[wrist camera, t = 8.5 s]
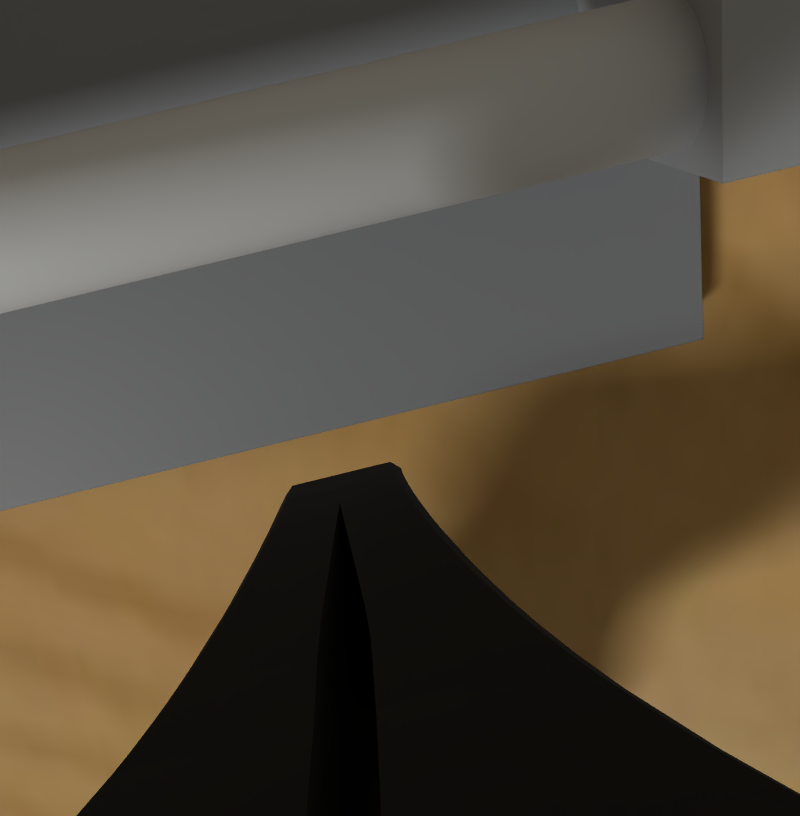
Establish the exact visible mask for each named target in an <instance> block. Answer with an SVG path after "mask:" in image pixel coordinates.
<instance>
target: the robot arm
mask: <svg viewBox="0 0 800 816" xmlns="http://www.w3.org/2000/svg"><path fill="white" fill-rule="evenodd" d="M77 816H800V794H799V793H797V792H795V791H794V790H792V789H790V788H788V787H787V786H785V785H783V784H781V783H779V782H778V781H776V780H774V779H772V778H771V777H769V776H767V775H765V774H763V773H762V772H760V771H758V770H756V769H755V768H753V767H751V766H749V765H747V764H746V763H744V762H742V761H740V760H739V759H737V758H735V757H733V756H731V755H730V754H728V753H726V752H724V751H723V750H721V749H719V748H718V747H716V746H715V745H713V744H711V743H710V742H708V741H707V740H705V739H704V738H702V737H700V736H699V735H697V734H696V733H694V732H692V731H691V730H689V729H688V728H686V727H685V726H683V725H681V724H680V723H678V722H677V721H675V720H673V719H672V718H670V717H669V716H667V715H666V714H664V713H662V712H661V711H659V710H658V709H656V708H655V707H653V706H651V705H650V704H648V703H647V702H645V701H643V700H642V699H640V698H639V697H637V696H636V695H634V694H632V693H631V692H629V691H628V690H626V689H625V688H623V687H622V686H620V685H619V684H617V683H616V682H615V681H613V680H612V679H610V678H609V677H608V676H606V675H605V674H603V673H602V672H601V671H599V670H598V669H597V668H595V667H594V666H592V665H591V664H590V663H588V662H587V661H586V660H584V659H583V658H581V657H580V656H579V655H577V654H576V653H575V652H573V651H572V650H571V649H569V648H568V647H567V646H566V645H564V644H563V643H562V642H561V641H559V640H558V639H557V638H555V637H554V636H553V635H552V634H550V633H549V632H548V631H547V630H545V629H544V628H543V627H542V626H540V625H539V624H538V623H537V622H536V621H534V620H533V619H532V618H531V617H530V616H529V615H527V614H526V613H525V612H524V611H523V610H522V609H520V608H519V607H518V606H517V605H516V604H515V603H514V602H513V601H511V600H510V599H509V598H508V597H507V596H506V595H505V594H504V593H503V592H502V591H501V590H500V589H499V588H498V587H496V586H495V585H494V584H493V583H492V582H491V581H490V580H489V579H488V578H487V577H486V576H485V575H484V574H483V573H482V572H481V571H480V570H479V569H478V568H477V567H476V566H475V565H474V564H473V563H472V562H471V561H470V560H469V559H468V558H467V557H466V556H465V555H464V554H463V553H462V551H461V550H460V549H459V548H458V547H457V546H456V545H455V544H454V543H453V541H452V540H451V539H450V538H449V537H448V536H447V535H446V534H445V533H444V531H443V530H442V529H441V528H440V527H439V526H438V524H437V523H436V522H435V521H434V520H433V518H432V517H431V516H430V515H429V513H428V512H427V511H426V509H425V508H424V507H423V505H422V504H421V503H420V501H419V500H418V498H417V497H416V496H415V494H414V493H413V491H412V490H411V488H410V486H409V485H408V483H407V481H406V479H405V477H404V475H403V473H402V470H401V468H400V467H398V466H396V465H395V464H393V463H391V462H388V463H384V464H380V465H376V466H371V467H367V468H363V469H359V470H355V471H351V472H347V473H343V474H339V475H335V476H331V477H327V478H323V479H318V480H314V481H310V482H306V483H302V484H298V485H294V486H292V487H291V489H290V490H289V492H288V493H287V495H286V497H285V499H284V501H283V503H282V505H281V507H280V509H279V511H278V513H277V515H276V518H275V520H274V522H273V524H272V526H271V528H270V530H269V532H268V534H267V536H266V538H265V540H264V542H263V544H262V546H261V548H260V550H259V552H258V554H257V556H256V558H255V560H254V562H253V563H252V565H251V567H250V569H249V571H248V573H247V574H246V576H245V578H244V580H243V582H242V583H241V585H240V587H239V589H238V591H237V593H236V594H235V596H234V598H233V600H232V602H231V604H230V605H229V607H228V609H227V610H226V612H225V614H224V616H223V617H222V619H221V620H220V622H219V624H218V625H217V627H216V628H215V630H214V632H213V633H212V635H211V636H210V638H209V640H208V641H207V643H206V644H205V646H204V648H203V649H202V651H201V652H200V654H199V656H198V657H197V659H196V660H195V662H194V664H193V665H192V667H191V668H190V670H189V671H188V673H187V674H186V676H185V677H184V679H183V680H182V682H181V683H180V685H179V686H178V688H177V689H176V691H175V692H174V694H173V695H172V696H171V698H170V699H169V701H168V702H167V704H166V705H165V706H164V708H163V709H162V711H161V712H160V713H159V715H158V716H157V718H156V719H155V720H154V722H153V723H152V724H151V726H150V727H149V728H148V730H147V731H146V732H145V734H144V735H143V736H142V737H141V739H140V740H139V741H138V743H137V744H136V745H135V747H134V748H133V749H132V751H131V752H130V753H129V754H128V756H127V757H126V758H125V759H124V761H123V762H122V763H121V764H120V766H119V767H118V768H117V769H116V771H115V772H114V773H113V774H112V775H111V777H110V778H109V779H108V780H107V781H106V782H105V784H104V785H103V786H102V787H101V788H100V789H99V790H98V792H97V793H96V794H95V795H94V796H93V797H92V799H91V800H90V801H89V802H88V803H87V804H86V805H85V807H84V808H83V809H82V810H81V811H80V812H79V814H78V815H77Z"/></svg>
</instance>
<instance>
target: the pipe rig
mask: <svg viewBox="0 0 800 816" xmlns="http://www.w3.org/2000/svg"><path fill="white" fill-rule="evenodd" d="M798 165H800V0H0V511H2V510H6V509H10V508H14V507H18V506H22V505H26V504H30V503H35V502H39V501H43V500H47V499H51V498H55V497H59V496H63V495H67V494H71V493H75V492H80V491H84V490H88V489H92V488H96V487H100V486H104V485H108V484H112V483H116V482H120V481H125V480H129V479H133V478H137V477H141V476H145V475H149V474H153V473H157V472H161V471H165V470H170V469H174V468H178V467H182V466H186V465H190V464H194V463H198V462H202V461H206V460H210V459H215V458H219V457H223V456H227V455H231V454H235V453H239V452H243V451H247V450H251V449H255V448H260V447H264V446H268V445H272V444H276V443H280V442H284V441H288V440H292V439H296V438H300V437H304V436H309V435H313V434H317V433H321V432H325V431H329V430H333V429H337V428H341V427H345V426H349V425H354V424H358V423H362V422H366V421H370V420H374V419H378V418H382V417H386V416H390V415H394V414H399V413H403V412H407V411H411V410H415V409H419V408H423V407H427V406H431V405H435V404H439V403H444V402H448V401H452V400H456V399H460V398H464V397H468V396H472V395H476V394H480V393H484V392H489V391H493V390H497V389H501V388H505V387H509V386H513V385H517V384H521V383H525V382H529V381H534V380H538V379H542V378H546V377H550V376H554V375H558V374H562V373H566V372H570V371H574V370H578V369H583V368H587V367H591V366H595V365H599V364H603V363H607V362H611V361H615V360H619V359H623V358H628V357H632V356H636V355H640V354H644V353H648V352H652V351H656V350H660V349H664V348H668V347H673V346H677V345H681V344H685V343H689V342H693V341H697V340H701V339H703V310H702V263H701V216H700V176H701V177H704V178H707V179H710V180H714V181H717V182H720V183H727V182H732V181H736V180H740V179H744V178H748V177H752V176H756V175H761V174H765V173H769V172H773V171H777V170H781V169H785V168H790V167H794V166H798Z"/></svg>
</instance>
